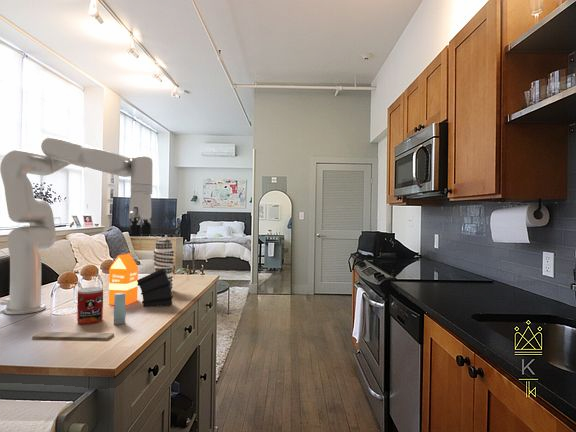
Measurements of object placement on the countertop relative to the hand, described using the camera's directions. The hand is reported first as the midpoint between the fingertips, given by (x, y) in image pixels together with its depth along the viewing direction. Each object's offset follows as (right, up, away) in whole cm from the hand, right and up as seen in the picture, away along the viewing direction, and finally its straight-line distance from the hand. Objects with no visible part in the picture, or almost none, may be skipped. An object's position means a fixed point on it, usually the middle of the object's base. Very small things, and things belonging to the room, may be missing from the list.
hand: (141, 235), depth 134 cm
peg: (-2, -29, -14) cm, 32 cm away
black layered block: (+1, -29, +10) cm, 31 cm away
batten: (-9, -29, -28) cm, 41 cm away
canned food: (-13, -29, -12) cm, 34 cm away
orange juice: (-14, -29, +15) cm, 36 cm away
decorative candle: (-5, -29, +37) cm, 48 cm away
